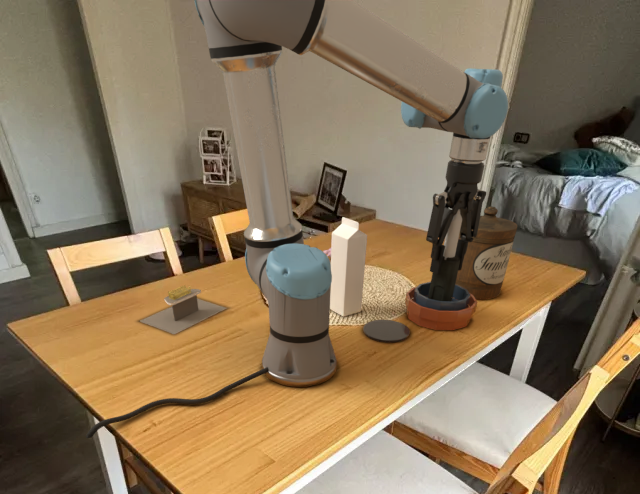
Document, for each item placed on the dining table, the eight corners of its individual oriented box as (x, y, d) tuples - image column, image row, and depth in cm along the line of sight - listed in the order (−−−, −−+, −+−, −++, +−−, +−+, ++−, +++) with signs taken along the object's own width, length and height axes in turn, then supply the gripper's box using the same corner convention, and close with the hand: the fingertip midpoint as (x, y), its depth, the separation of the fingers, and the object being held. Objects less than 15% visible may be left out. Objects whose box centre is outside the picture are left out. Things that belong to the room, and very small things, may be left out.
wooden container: (480, 304, 127) (501, 217, 114) (435, 287, 136) (450, 204, 123) (510, 291, 135) (533, 208, 122) (466, 276, 144) (483, 197, 131)
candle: (451, 308, 120) (473, 201, 105) (443, 315, 117) (466, 205, 102) (432, 303, 123) (451, 198, 107) (424, 310, 119) (443, 202, 104)
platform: (138, 321, 115) (133, 294, 111) (193, 297, 127) (189, 272, 123) (174, 334, 110) (169, 307, 106) (227, 308, 122) (224, 283, 118)
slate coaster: (380, 346, 107) (381, 344, 107) (353, 327, 115) (354, 325, 114) (419, 336, 112) (419, 334, 112) (390, 318, 119) (391, 316, 119)
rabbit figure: (338, 255, 161) (315, 259, 149) (340, 236, 158) (317, 239, 146) (354, 258, 159) (332, 263, 147) (357, 239, 156) (335, 243, 144)
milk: (343, 317, 119) (348, 224, 106) (328, 308, 123) (331, 218, 110) (361, 311, 122) (369, 220, 109) (346, 303, 126) (351, 214, 113)
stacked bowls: (434, 336, 112) (439, 310, 108) (391, 310, 123) (394, 285, 119) (486, 322, 119) (492, 297, 115) (440, 298, 130) (445, 275, 126)
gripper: (444, 166, 93) (424, 282, 107) (512, 161, 101) (485, 269, 115) (419, 160, 98) (404, 271, 112) (486, 155, 106) (463, 260, 120)
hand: (445, 270), depth 114 cm, fingers closed on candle, 6 cm apart
